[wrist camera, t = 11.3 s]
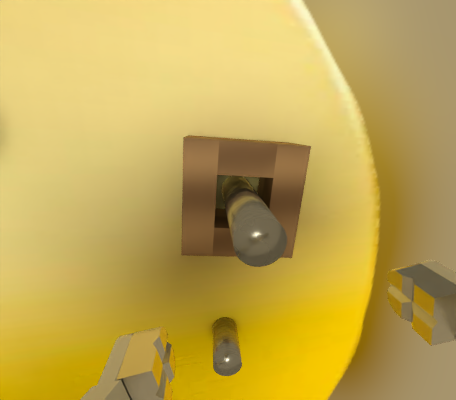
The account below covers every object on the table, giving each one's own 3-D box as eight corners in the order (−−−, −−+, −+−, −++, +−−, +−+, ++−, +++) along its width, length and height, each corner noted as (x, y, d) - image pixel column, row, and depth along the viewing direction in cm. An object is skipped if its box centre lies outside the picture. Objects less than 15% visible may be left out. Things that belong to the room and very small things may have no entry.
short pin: (235, 336, 30) (240, 375, 25) (212, 336, 30) (212, 376, 25) (237, 317, 29) (242, 354, 24) (213, 317, 29) (214, 354, 24)
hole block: (276, 234, 26) (291, 257, 22) (186, 231, 25) (181, 255, 21) (289, 142, 23) (310, 146, 19) (188, 135, 22) (183, 137, 18)
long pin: (252, 199, 25) (290, 260, 13) (224, 205, 25) (238, 271, 13) (247, 172, 24) (283, 212, 13) (218, 178, 24) (228, 224, 12)
